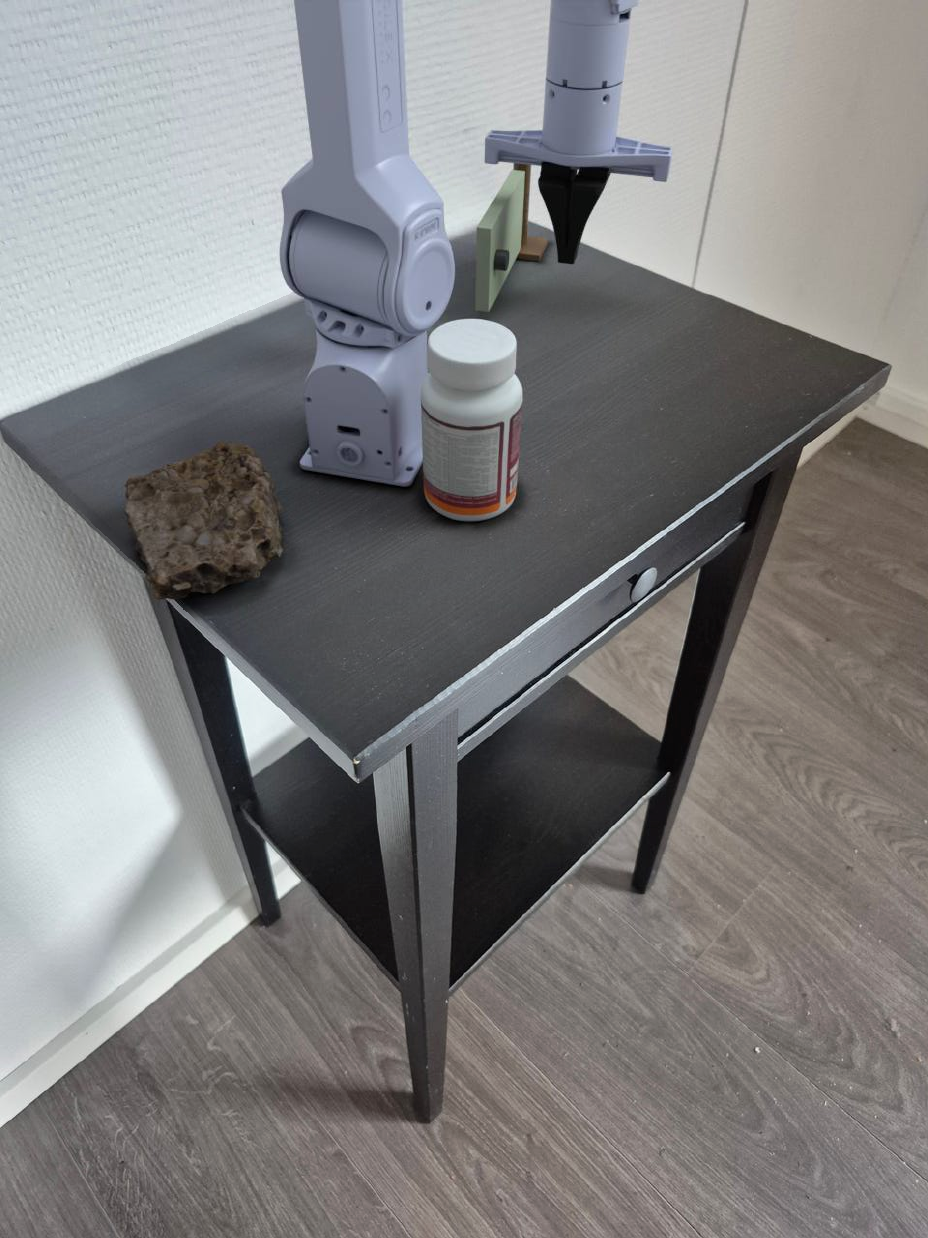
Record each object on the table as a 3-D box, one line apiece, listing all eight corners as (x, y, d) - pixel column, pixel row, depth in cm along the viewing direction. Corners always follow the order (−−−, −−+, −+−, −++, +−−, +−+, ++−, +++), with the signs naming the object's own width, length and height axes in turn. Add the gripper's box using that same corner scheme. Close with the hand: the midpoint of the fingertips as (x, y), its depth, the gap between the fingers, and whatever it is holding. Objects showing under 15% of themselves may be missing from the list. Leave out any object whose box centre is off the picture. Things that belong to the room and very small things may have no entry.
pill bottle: (475, 457, 62) (479, 303, 54) (535, 500, 59) (548, 343, 51) (405, 491, 59) (397, 334, 51) (463, 538, 56) (464, 378, 48)
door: (500, 313, 75) (503, 230, 70) (475, 310, 75) (476, 226, 70) (531, 250, 84) (536, 171, 78) (508, 247, 84) (511, 169, 79)
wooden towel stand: (539, 261, 84) (547, 145, 76) (487, 255, 85) (490, 140, 77) (547, 243, 86) (556, 130, 79) (497, 238, 87) (501, 125, 80)
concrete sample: (243, 407, 57) (248, 464, 61) (83, 454, 53) (100, 512, 57) (326, 530, 52) (326, 583, 56) (157, 593, 48) (170, 645, 52)
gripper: (687, 70, 67) (658, 248, 77) (501, 55, 70) (495, 230, 80) (678, 99, 63) (648, 284, 72) (479, 81, 65) (476, 263, 75)
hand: (567, 258), depth 76 cm, fingers closed
